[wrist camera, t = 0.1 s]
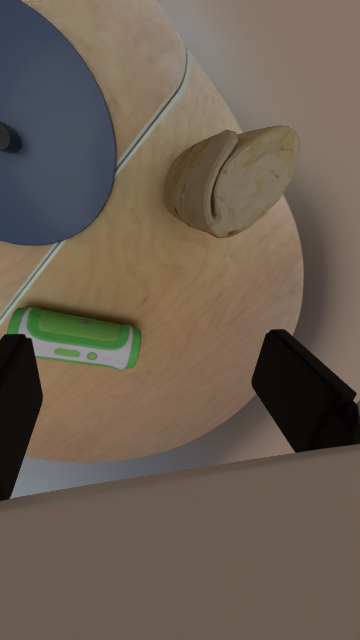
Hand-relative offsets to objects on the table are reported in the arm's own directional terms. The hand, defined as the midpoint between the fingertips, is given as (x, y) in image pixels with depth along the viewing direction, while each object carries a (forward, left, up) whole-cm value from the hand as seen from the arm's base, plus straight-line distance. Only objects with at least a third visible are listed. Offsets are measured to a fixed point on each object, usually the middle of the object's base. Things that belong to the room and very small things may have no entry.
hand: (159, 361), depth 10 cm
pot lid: (-9, -13, -30) cm, 34 cm away
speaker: (+16, -7, -31) cm, 35 cm away
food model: (-7, +8, -31) cm, 32 cm away
